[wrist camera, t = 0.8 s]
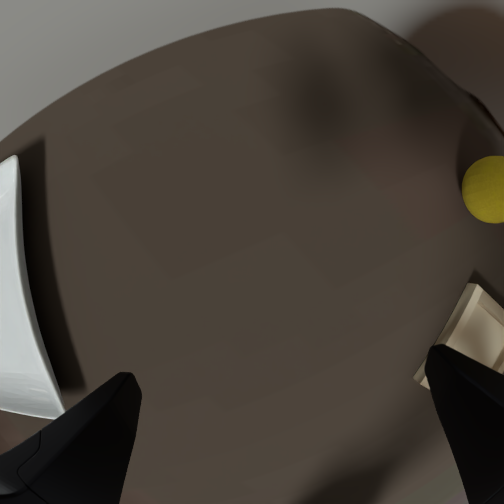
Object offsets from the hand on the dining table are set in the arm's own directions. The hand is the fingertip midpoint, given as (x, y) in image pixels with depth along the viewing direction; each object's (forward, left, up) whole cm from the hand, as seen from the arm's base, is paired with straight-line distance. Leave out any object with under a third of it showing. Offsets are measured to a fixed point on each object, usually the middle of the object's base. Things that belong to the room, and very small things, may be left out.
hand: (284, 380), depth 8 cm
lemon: (+13, -15, -16) cm, 26 cm away
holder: (-1, -20, -15) cm, 26 cm away
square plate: (-12, +34, -16) cm, 39 cm away
